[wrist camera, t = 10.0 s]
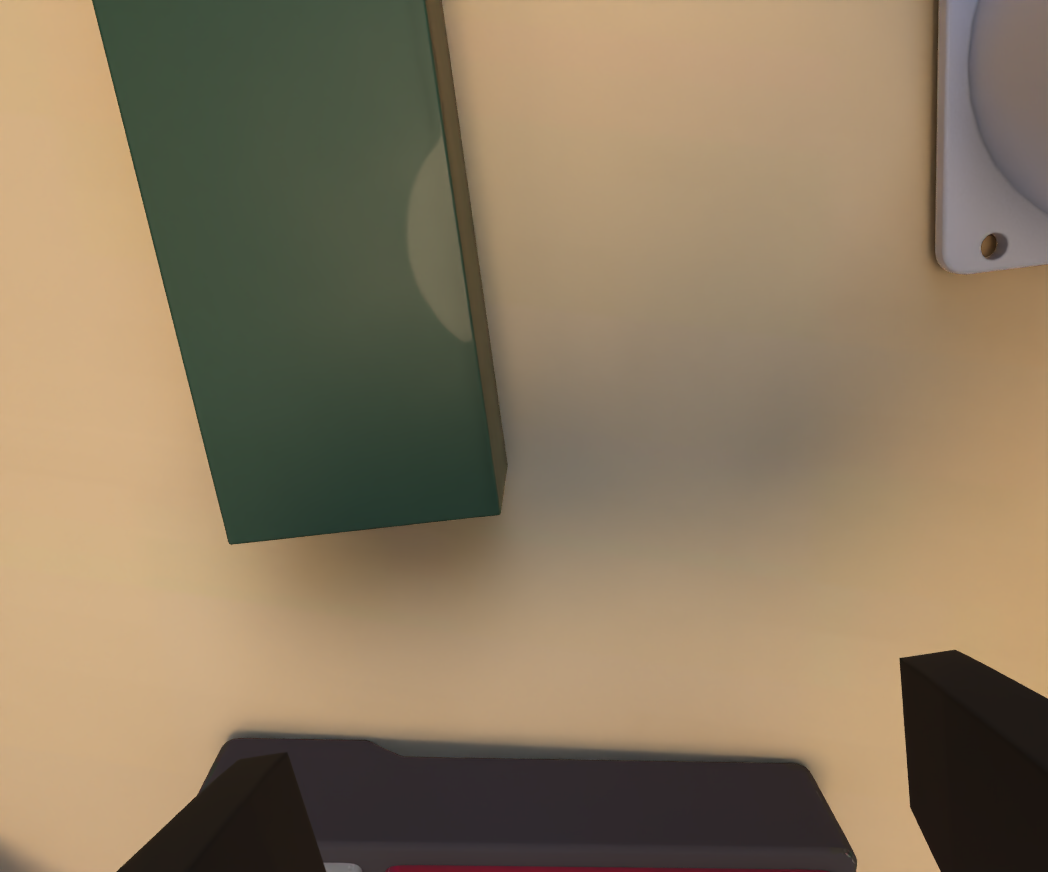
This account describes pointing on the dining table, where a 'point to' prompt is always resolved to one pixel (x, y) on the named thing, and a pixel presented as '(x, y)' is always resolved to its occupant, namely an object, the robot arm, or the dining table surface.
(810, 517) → the dining table surface
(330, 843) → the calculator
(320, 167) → the book
